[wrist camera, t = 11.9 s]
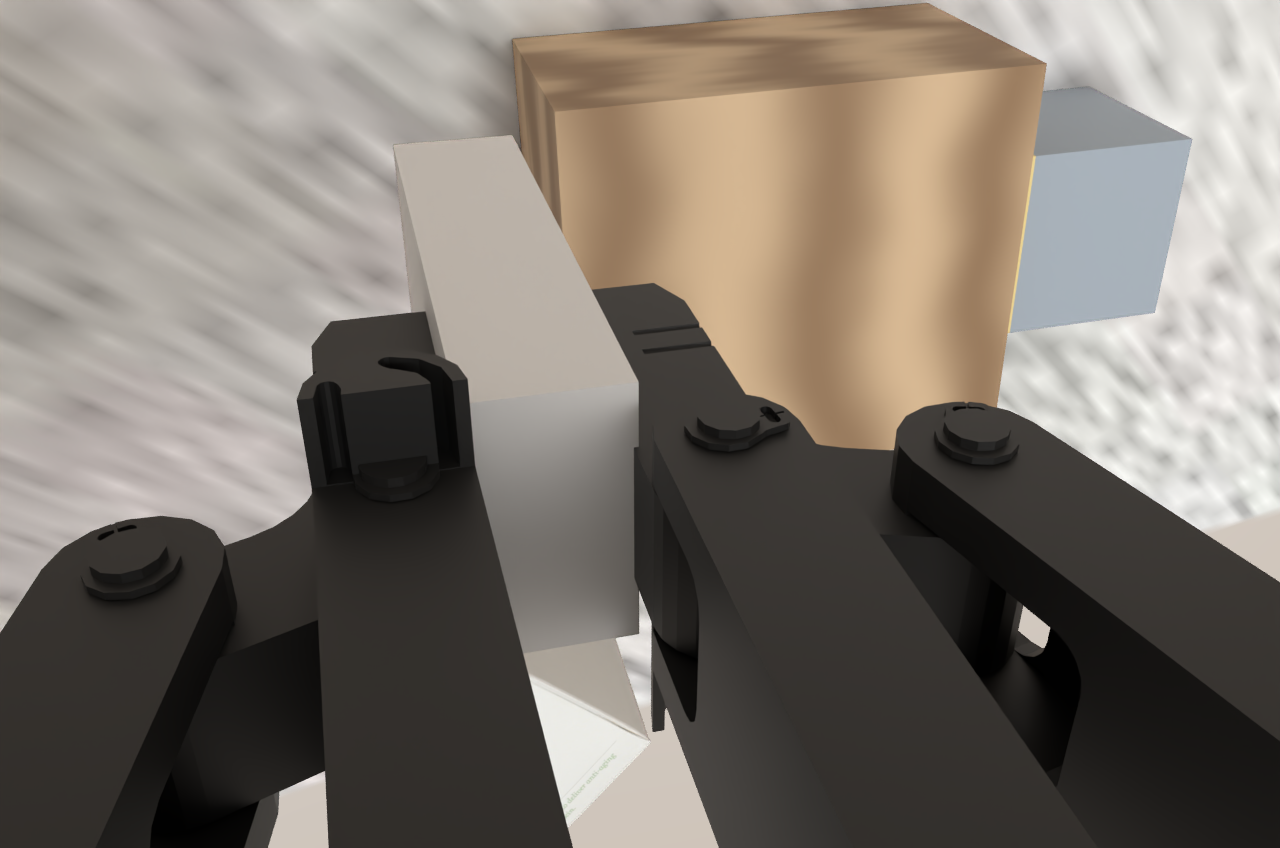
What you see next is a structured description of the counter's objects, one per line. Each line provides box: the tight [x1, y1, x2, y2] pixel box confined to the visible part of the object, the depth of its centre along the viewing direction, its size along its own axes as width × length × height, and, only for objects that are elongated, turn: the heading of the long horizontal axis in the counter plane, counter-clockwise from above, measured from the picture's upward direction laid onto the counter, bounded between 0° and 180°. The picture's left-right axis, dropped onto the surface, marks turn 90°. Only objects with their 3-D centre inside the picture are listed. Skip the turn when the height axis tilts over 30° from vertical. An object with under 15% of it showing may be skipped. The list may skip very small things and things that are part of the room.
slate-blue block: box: [1008, 87, 1192, 333], centre depth 48 cm, size 7×7×7 cm
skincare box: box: [523, 638, 651, 827], centre depth 47 cm, size 8×7×16 cm
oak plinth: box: [512, 3, 1047, 450], centre depth 45 cm, size 16×14×9 cm
